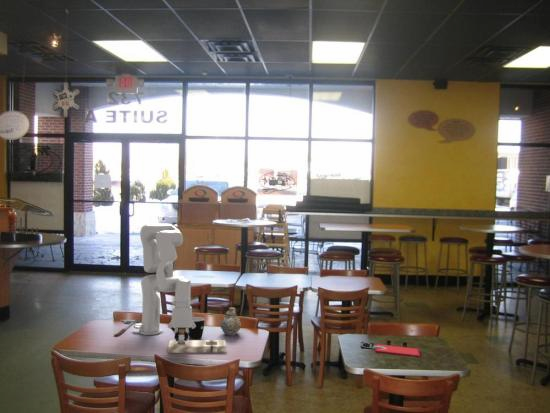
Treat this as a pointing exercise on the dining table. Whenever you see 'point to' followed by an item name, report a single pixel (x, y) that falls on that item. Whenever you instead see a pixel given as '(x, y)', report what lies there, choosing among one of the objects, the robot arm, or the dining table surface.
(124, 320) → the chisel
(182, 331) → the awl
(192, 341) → the subfloor board
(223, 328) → the grey bulbous vase
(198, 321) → the mug
